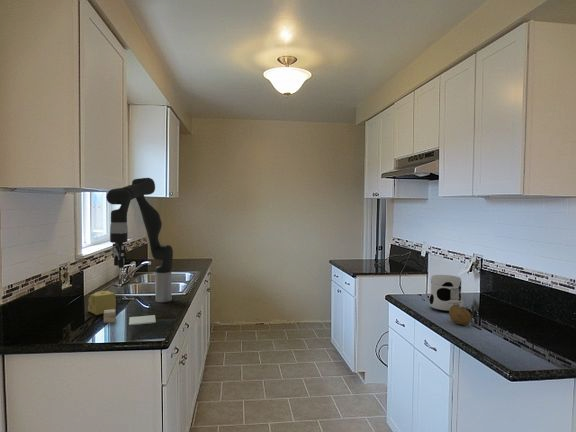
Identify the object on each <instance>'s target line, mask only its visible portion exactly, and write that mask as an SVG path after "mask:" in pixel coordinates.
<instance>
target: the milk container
mask: <svg viewBox="0 0 576 432" xmlns="http://www.w3.org/2000/svg"><path fill="white" fill-rule="evenodd" d="M428 305H429V306H430V308H431V309H433V310H436V311H439V312H444V313H449V309H450V308H451V307H452V306H460V307H462V308H463V305H464V303H463V297H462V278H461V277H460V276H455V275H449V274H435V275H431V277H430V294H429V297H428Z"/></svg>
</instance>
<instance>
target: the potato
mask: <svg viewBox="0 0 576 432" xmlns="http://www.w3.org/2000/svg"><path fill="white" fill-rule="evenodd" d="M448 316H449V319H450V321H452V322H453V323H455V324H456V325H462V326H466V325H469V324H470V323H471V322H472V320H473V319H472V318H473V317H472V314H471V313H470V311H469V310H468V309H466V308H463V306H462V307H460V306H452V307H451V308H450V309H449V312H448Z"/></svg>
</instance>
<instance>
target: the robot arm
mask: <svg viewBox="0 0 576 432" xmlns="http://www.w3.org/2000/svg"><path fill="white" fill-rule="evenodd" d="M155 190H156V183H155V180H154V179H152V178H150V177H141V178H135V179H132V181H131V184H129V185H126V186H123V187H120V188H119V187H117V188H111V189H110V190H108V192H106V197H105V198H106V201H107V202H108V203H109V205H120V207H118V209H113V210H111V212H110V226H109V227H110V228H109V242H110V243H112V255H111V256H112V257H113V265H114V266H117V267H118V269H124V268H125V259H126V258H127V257H126V256H127V255H126V254H127V253H126V248H127V247H126V245H124V243H127V242H128V233H129V232H128V230H129V229H128V212H129V206H130V205H131V204H130V203H131V201H132V200H134V199H135V200H136V202H137V205H138V208H139V210H140V213H141V217H142V221H143V224H144V227H145V230H146V233H147V237H148V241H149V246H150V247H149V249H150V252H151V256H152V258H153V259H154V260H156V261H162V263H161V265H158V266H156V267H155V268H154V278H155V279H154V280H155V281H154V287H155V292H154V294H155V295H154V297H155V302H156V303H168V302H171V301H172V298H173V297H172V296H173V295H172V286H173V285H172V284H173V283H172V281H173V280H172V268H173V260H174V259H173V258H174V250H173V247H172V246H171V245H170V244H160V239H159V235H160V233H161V230H162V226H163V225H162V223H163V222H162V218H161V216H160V214H159V212H158V211H157V210H156V209H155V207H154V206H153V205H152V204H150V203H149V202H148V200H147V199H146V197H145V196H147V195H152V194H154V192H155Z"/></svg>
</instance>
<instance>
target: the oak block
mask: <svg viewBox="0 0 576 432" xmlns="http://www.w3.org/2000/svg"><path fill="white" fill-rule="evenodd" d="M116 315H117V313H116V308H115V309H113V310H104V313H103V324H107V323H115V322H116V317H117V316H116Z"/></svg>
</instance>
